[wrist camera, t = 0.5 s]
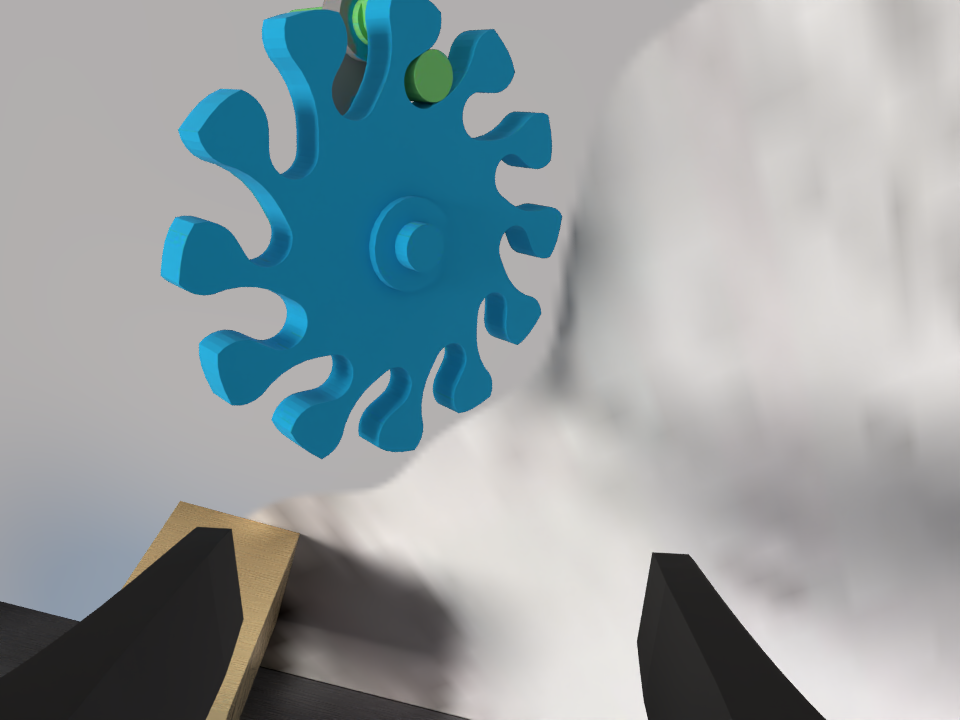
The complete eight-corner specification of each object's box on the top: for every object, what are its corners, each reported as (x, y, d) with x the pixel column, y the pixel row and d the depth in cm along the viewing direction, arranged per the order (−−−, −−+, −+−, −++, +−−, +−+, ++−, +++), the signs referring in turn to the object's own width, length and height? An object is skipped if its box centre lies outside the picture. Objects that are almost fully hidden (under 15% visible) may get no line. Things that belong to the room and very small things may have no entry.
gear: (559, 417, 21) (206, 531, 14) (423, 360, 25) (99, 428, 18) (605, -27, 17) (171, -155, 11) (439, -10, 21) (49, -94, 15)
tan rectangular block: (299, 533, 25) (227, 714, 19) (277, 619, 27) (204, 810, 20) (180, 500, 24) (64, 674, 18) (165, 589, 26) (54, 776, 20)
